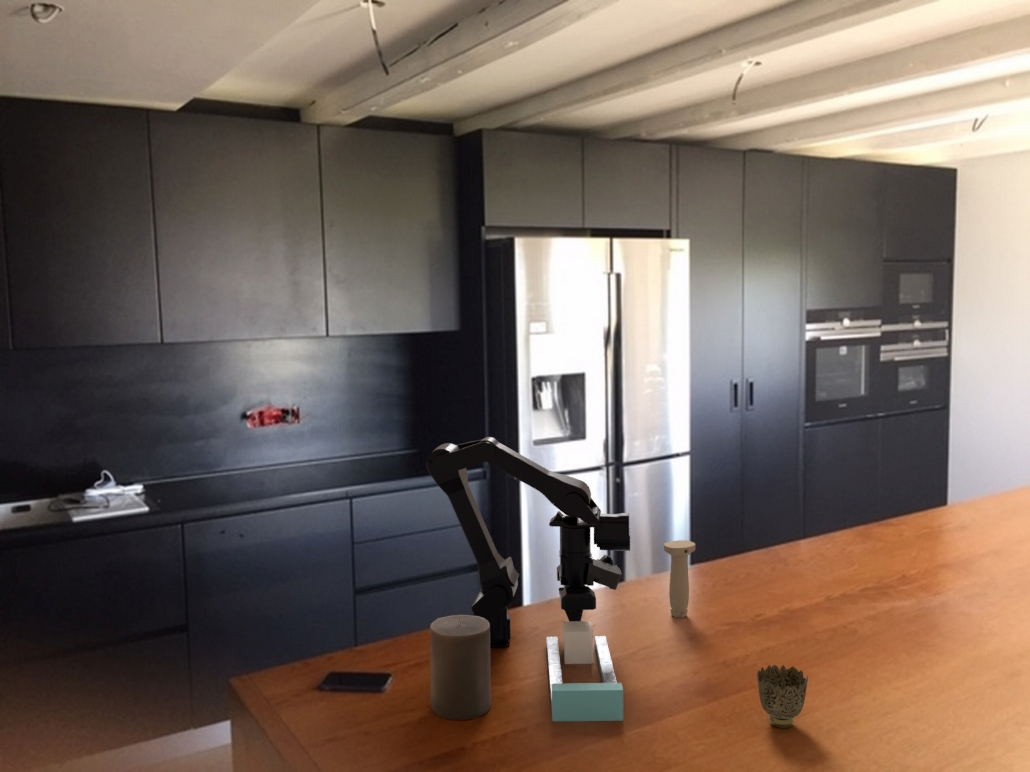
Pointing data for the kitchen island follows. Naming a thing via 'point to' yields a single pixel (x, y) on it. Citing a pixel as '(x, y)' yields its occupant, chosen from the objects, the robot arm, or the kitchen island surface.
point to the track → (585, 689)
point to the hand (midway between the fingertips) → (575, 629)
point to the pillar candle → (460, 667)
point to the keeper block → (577, 642)
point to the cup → (781, 694)
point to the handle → (679, 575)
